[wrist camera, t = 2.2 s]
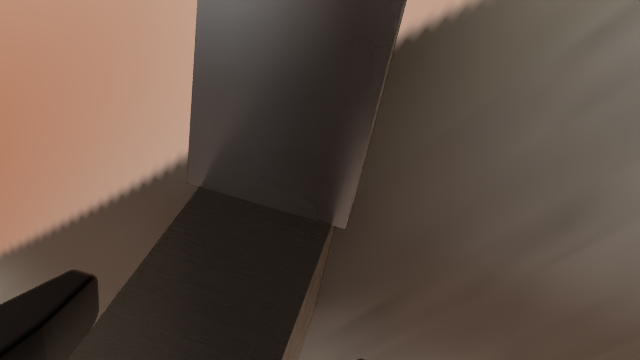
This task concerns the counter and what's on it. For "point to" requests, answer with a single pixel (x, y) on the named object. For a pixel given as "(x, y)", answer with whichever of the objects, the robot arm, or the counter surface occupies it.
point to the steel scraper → (258, 181)
